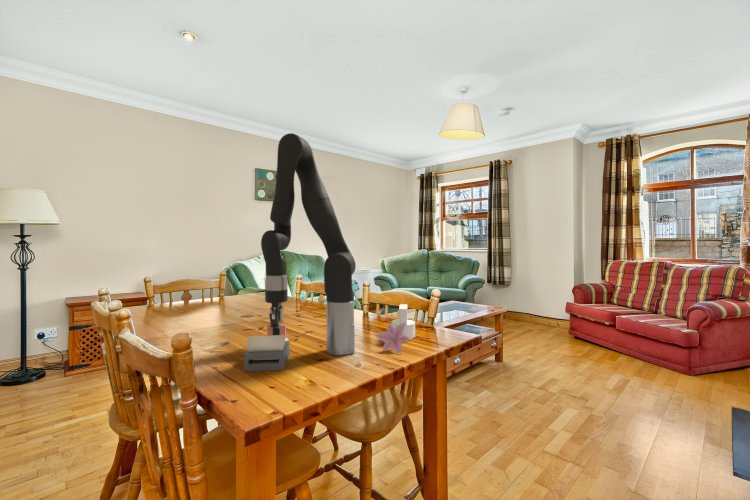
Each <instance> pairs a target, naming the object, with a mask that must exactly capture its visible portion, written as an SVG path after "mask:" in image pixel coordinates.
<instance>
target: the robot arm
mask: <svg viewBox="0 0 750 500" xmlns="http://www.w3.org/2000/svg"><path fill="white" fill-rule="evenodd" d="M276 159H277V162H276V163H277V164H276V165H277V166H276V178H275V179H276V180H275V188H274V194H273V199H272V206H271V210H270V215H269V218H270V219H269V220H270V221H271V222H272V223H273V230H272V229H271V230H267V231H265V232H263V234H262V236H261V239H260V247H261V251H262V255H263V260H264V262H265V278H264V299H265V303H267V304H271V307H269V314H268V316H269V322H270V325H271V328H273V335H280V324H283V317H284V314H283V312H284V306H282V304H283V303H286V302H287V301H288V299H289V298H288V297H289V296H288V295H289V294H288V290H289V289H288V275H287V274H288V273H287V271H288V270H287V269H288V268H287V265H288V264H287V260H286V259H285V258H284V257H282V254H281V251H283V250H286V249H287V248H288V247H289V245H290V243H291V238H292V221H291V220H292V217H293V211H294V208H295V207H294V206H295V198H296V197H295V175H297V177H298V181H299V185H300V195H301V196H300V197H301V198H300V199H301V203H302V207H303V210H304V212H305V214H306V218H307V219H308V222H309V223H310V225H311V227H312V228H313V230H314V232H315V234H316V235H317V236H318V237H319V239H320V240H321V242H322V245H323V246H324V249H325V252H326V254H327V258H326V260H325V262H324V266H323V281H324V282H323V283H324V293H325V297H326V306H325V307H326V353H327V354H329V355H332V356H347V355H351V354H355V353H356V351H355V293H354V291H353V290H354V289H353V274H354V273H355V271H356V261H355V258H354V256H353V254H352V253H351V250H350V248H349V246H348V245H347V243H346V240H345V238H344V236H343V234H342V230H341V227H340V223H339V221H338V218H337V216H336V213H335V210H334V207H333V204H332V202H331V198H330V197H329V195H328V192H327V190H326V186H325V185H324V182H323V181H322V178H321V176H320V173H319V170H318V167H317V163H316V161H315V157H314V153H313V149H312V147H311V144H310V143H309V142H308V140H306V139H304V138H303V137H301V136H299V135H298V134H295V133H291V132H290V133H286V134H284V135H283V136H282V137H281V138H280V139H279V142H278V145H277V158H276Z"/></svg>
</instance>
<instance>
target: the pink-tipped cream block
mask: <svg viewBox="0 0 750 500" xmlns="http://www.w3.org/2000/svg"><path fill="white" fill-rule="evenodd" d="M266 327H267V330H266V331H267V335H266V336H269V335H273V328H271V324H268V325H267V326H266ZM280 335H284V336H285V341H289V337H287V324H286V323H285V324H284V323H282V324H280ZM252 360H276V359H252Z"/></svg>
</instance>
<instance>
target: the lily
mask: <svg viewBox="0 0 750 500" xmlns="http://www.w3.org/2000/svg"><path fill="white" fill-rule="evenodd" d="M386 328H387V329H386V330H387V331H382V332H379V333H377V334H376V335H375V338H377V339H378V340H380V341H382V342H383V343H384V345H383V348H382V349H383V350H382V352H383V351H385V352H386V351H388V350H390V349H392V350H393V351H394V352H395V353H396V354H397V353H401V354H402V343H406V342H410V341H409V340H411V339H410V338H408V337H407V336H405V335H403V332H404V328H405V322H404V323H401V324H400V325H398V326H396V327H395V328H394V327H393V326H392V323H387V326H386ZM411 341H412V340H411Z"/></svg>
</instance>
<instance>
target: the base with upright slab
mask: <svg viewBox="0 0 750 500" xmlns="http://www.w3.org/2000/svg"><path fill="white" fill-rule="evenodd" d="M404 322H405V328H404V332H403V335H405V336H407V337H408V338H410V339H412V338H414V337H415V338H416V321H415V320H411V319H408V304H406V303H405V304H400V303H399V308H398V319H394V320H392V321H391V325H392V326H393V327H394V328H395V327H396V326H398V325H400V324H401V323H404Z"/></svg>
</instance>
